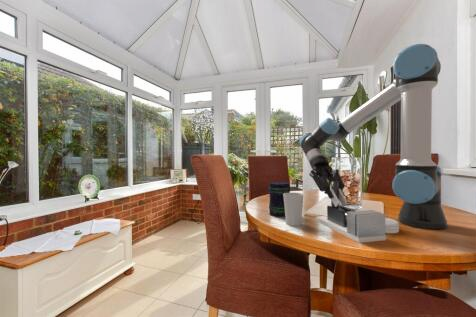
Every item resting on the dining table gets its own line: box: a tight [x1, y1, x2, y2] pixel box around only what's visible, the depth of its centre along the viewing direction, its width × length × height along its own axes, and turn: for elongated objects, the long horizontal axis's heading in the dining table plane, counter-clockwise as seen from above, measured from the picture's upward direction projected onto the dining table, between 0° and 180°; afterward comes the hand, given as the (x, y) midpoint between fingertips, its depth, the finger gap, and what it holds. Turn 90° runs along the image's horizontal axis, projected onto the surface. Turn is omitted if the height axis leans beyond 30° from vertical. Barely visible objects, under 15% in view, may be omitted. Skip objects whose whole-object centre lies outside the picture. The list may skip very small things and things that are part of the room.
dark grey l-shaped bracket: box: [331, 181, 347, 222], centre depth 86 cm, size 16×3×14 cm, turn 12°
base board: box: [315, 215, 387, 244], centre depth 85 cm, size 26×10×2 cm, turn 12°
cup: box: [283, 192, 304, 227], centre depth 93 cm, size 8×8×12 cm
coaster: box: [385, 217, 400, 235], centre depth 85 cm, size 10×10×4 cm
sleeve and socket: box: [326, 204, 386, 238], centre depth 83 cm, size 20×10×7 cm, turn 12°
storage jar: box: [268, 181, 291, 218], centre depth 107 cm, size 10×10×15 cm
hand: (341, 204), depth 88 cm, fingers closed on dark grey l-shaped bracket, 3 cm apart
